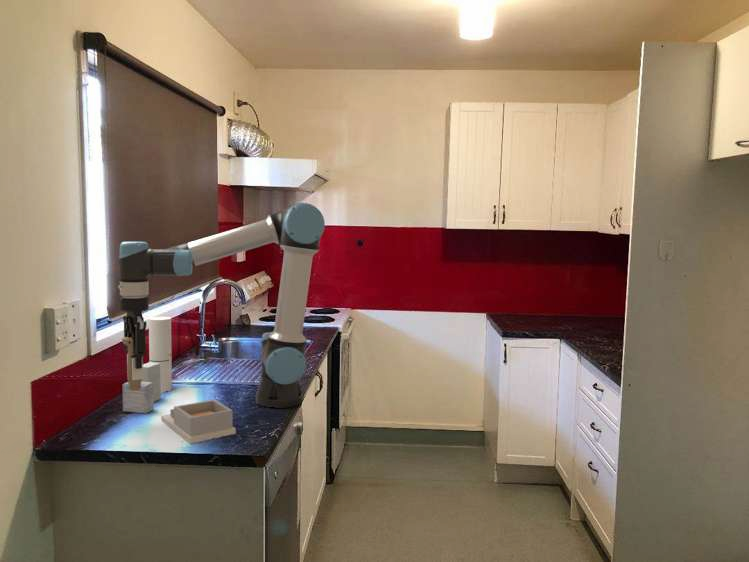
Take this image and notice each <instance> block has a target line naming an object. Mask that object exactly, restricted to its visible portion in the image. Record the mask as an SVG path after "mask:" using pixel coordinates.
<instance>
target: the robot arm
mask: <svg viewBox="0 0 749 562" xmlns="http://www.w3.org/2000/svg"><path fill="white" fill-rule="evenodd" d="M325 225H326V224H325V218H324V215H323V213H322V211H320V209H318V208H317V207H316V206H315V205H314V204H311V203H308V202H298V203H295V204H292V205H289V206H288V207H285V208H284V209H282V210H279V211H277V212H274V213H272V214H269V215H267V217H266V218H265V219H263V220H259V221H256V222H252V223H249V224H245V225H242V226H240V227H239V226H238V227H237V228H232V229H230V230H229V229H228V230H225V231H222V232H220V233H216V234H212V235H209V236H206V237H202V238H199V239H195V240H192V241H189V242H186V243H182V244H179V245H175V246H170V247H168V248H162V249H159V248H158V249H156V248H150V247H149V244H148V242H146V241H122V242H121V243H120V245H119V257H118V264H119V266H118V267H119V284H118V285H117V289H119V295H120V296H121V297H120V298H119V309H120V311H122V312H126V315H123V317H122V320H123V338H124V337H132V340H133V356H131V358H132V380H139V379H143V364H144V361H143V360H144V359H143V358H144V357H145V356H146V354H147V353H146V352H147V351H146V349H147V348H146V345H147V335H146V334H147V333H146V331H147V321H145V319H144V317H143V312H145V311H148V310H149V307H150V306H149V300H150V299H149V297H148V295H149V294H150V293H149V291H150V290H149V287H150V286H149V284H150V283H149V276H153V277H155V276H167V277H169V276H173V277H174V276H175V277H184V276H191V275H192V274H193V267H197V266H200V265H203V264H206V263H209V262H212V261H216V260H217V261H218V260H219V259H220V260H221V259H223V258H226V257H229V256H233V255H236V254H240V253H243V252H246V251H249V250H253V249H256V248H260V247H262V246H266V245H269V244H272V243H275V244H277V245H279V247H280V248H281V249H282V251H283V259H282V265H281V273H280V282H279V290H278V296H277V297H278V298H277V304H276V313H275V320H274V328H273V331H270V332H269V331H268V332H264V333H263V334H262V335H261V340H260V344H261V367H260V368H261V371H260V372H261V373H260V375H261V378H260V382H259V384H258V387H257V391H256V393H255V403H256V405H258V404H259V405H258V406H260V405H261V406H260V407H263V406H266V407H265V408H269V407H275V408H274V409H280V408H281V409H283V408H284V409H285V408H291V407H295V406H298V405H300V404H301V403H302V402H303V392H302V388H301V386H300V382H299V380H300V379H301V378H302V376H303V375H304V374H305V371H306V368H307V367H306V365H307V363H306V357H305V354H306V346H307V338H306V337H305V335H304V334H303V331H304V326H305V325H304V324H305V316H306V308H307V301H308V296H309V295H308V294H309V286H310V281H311V280H310V277H311V272H312V271H311V270H312V265H313V264H312V263H313V257H314V256H315V254H317V253H318V252H319V251H320V245H321V244H320V243H321V237H322V235H323V233H324V231H325ZM123 344H124V343H123ZM123 347H124V351H125V352H126V364H127V363H128V346H127V345H125V344H124V346H123Z"/></svg>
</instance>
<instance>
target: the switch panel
mask: <svg viewBox="0 0 749 562" xmlns="http://www.w3.org/2000/svg"><path fill="white" fill-rule="evenodd" d="M206 411H212V412H214V413H209V414H204V415H198V416H193V417H192V416H191V415H190V414H195V413H200V412H206ZM233 411H234V410H233V409H231V408H229V407H228V406H227V405H225V404H223V403H221V402H219V401H218V400H216V399H209V400H204V401H198V402H194V403H193V402H191V403H187V404H186V403H185V404H181V405H177V406H176V405H175V406H173V408H171V409H170V411H169V412H170V413H168V414H163V415H160V420H161V422H162V423H163V424H164V425H166V426H168V428H169V429H171V430H172V431H174V433H176V434H177V435H179V436H180V437H181V438H182V439H183V440H185V441H186V442H187V443H188V444H190V445H191V444H195V443H200V442H204V441H210V440H213V438H214V439H218V438H222V436H223V437H225V436H226V437H227V436H232V435H236V434H237V433H236V432H237V429H236V427H235V426H233V415H234V414H233Z"/></svg>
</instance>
